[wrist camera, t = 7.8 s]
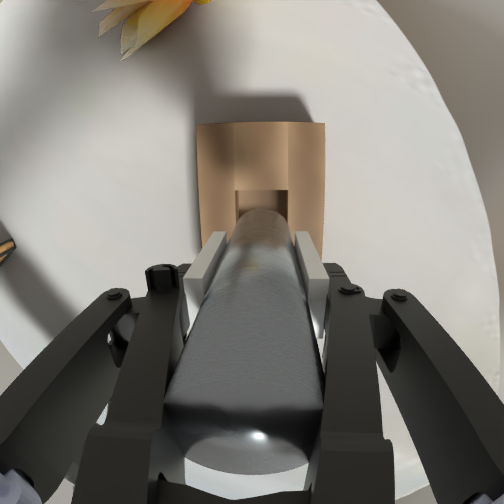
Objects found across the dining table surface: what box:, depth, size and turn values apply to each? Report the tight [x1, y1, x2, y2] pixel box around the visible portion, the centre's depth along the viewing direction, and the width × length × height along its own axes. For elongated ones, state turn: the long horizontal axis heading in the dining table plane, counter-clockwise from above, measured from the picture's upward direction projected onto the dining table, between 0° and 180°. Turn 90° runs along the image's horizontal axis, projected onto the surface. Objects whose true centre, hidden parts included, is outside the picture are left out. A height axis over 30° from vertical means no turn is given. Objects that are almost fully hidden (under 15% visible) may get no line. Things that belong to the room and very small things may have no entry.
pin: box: [163, 208, 325, 475], centre depth 13 cm, size 4×4×16 cm
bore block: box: [196, 122, 325, 260], centre depth 30 cm, size 12×18×5 cm, turn 1°
